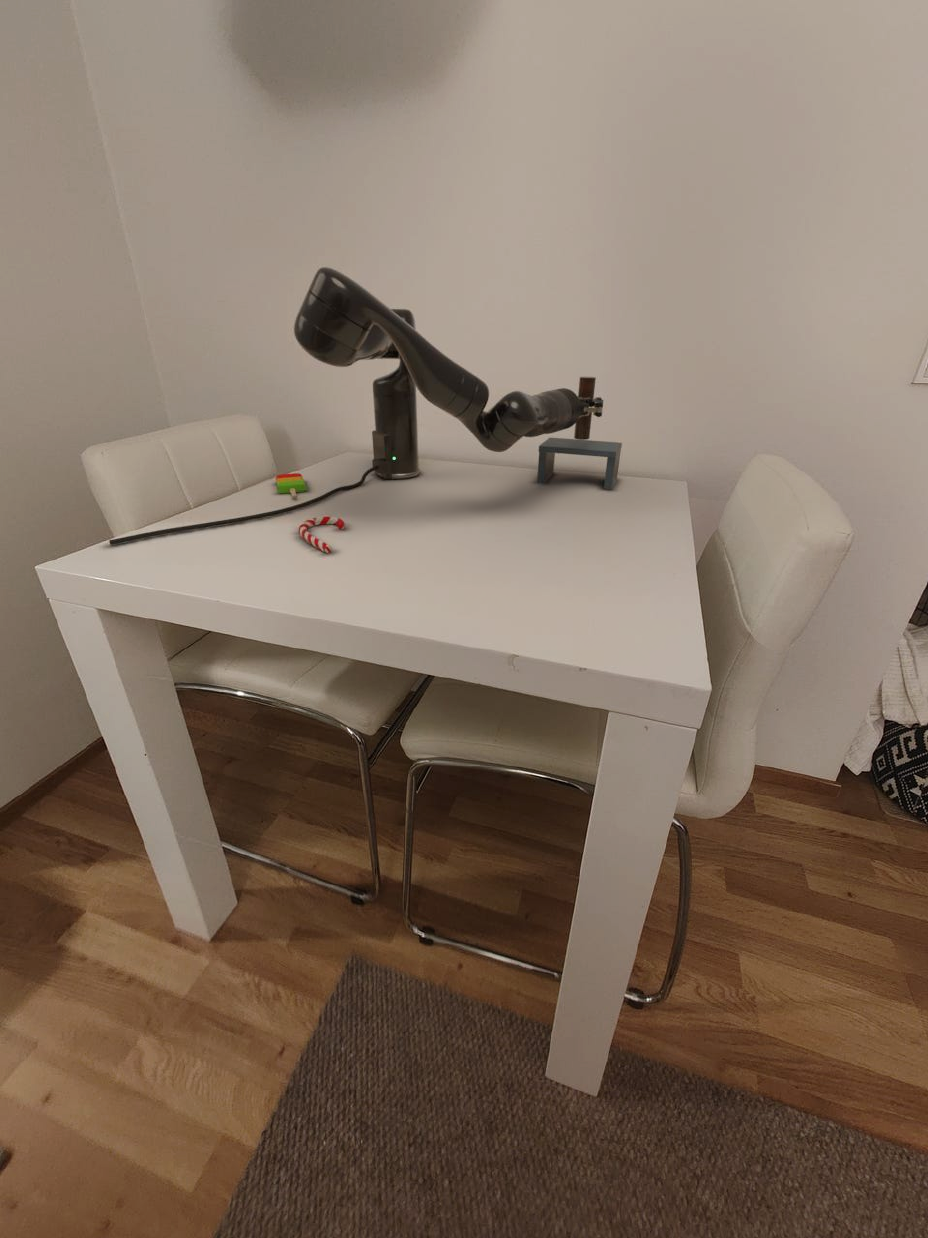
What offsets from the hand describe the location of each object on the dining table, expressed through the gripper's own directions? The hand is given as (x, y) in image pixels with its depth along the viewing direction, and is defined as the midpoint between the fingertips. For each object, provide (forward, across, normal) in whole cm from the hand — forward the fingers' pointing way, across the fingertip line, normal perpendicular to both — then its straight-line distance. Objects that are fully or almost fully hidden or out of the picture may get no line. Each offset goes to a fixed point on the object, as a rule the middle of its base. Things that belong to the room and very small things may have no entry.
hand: (591, 401), depth 120 cm
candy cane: (-60, -18, -17) cm, 65 cm away
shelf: (-3, 0, -16) cm, 16 cm away
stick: (-3, 0, -7) cm, 8 cm away
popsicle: (-45, -44, -16) cm, 65 cm away
